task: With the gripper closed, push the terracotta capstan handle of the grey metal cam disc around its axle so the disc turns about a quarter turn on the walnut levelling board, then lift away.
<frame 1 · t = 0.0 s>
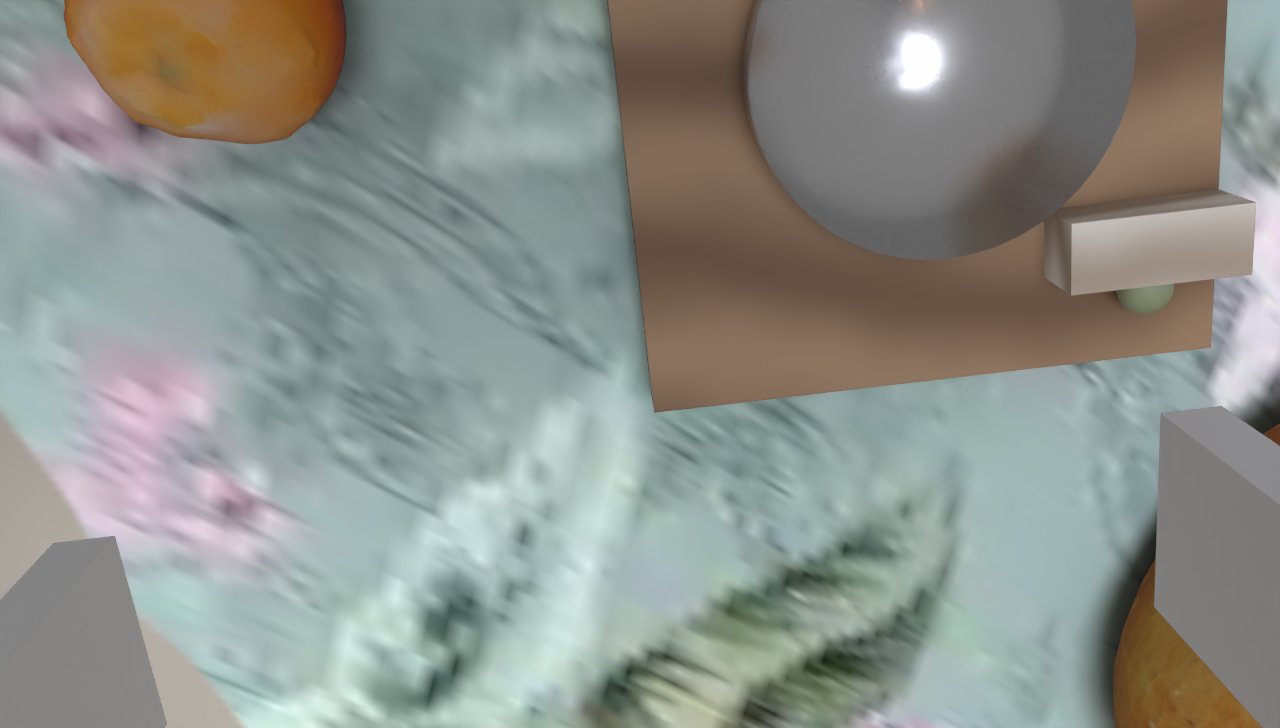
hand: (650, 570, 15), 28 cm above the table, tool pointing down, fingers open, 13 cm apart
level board: (907, 60, 40), on the table
fruit: (246, 11, 39), on the table
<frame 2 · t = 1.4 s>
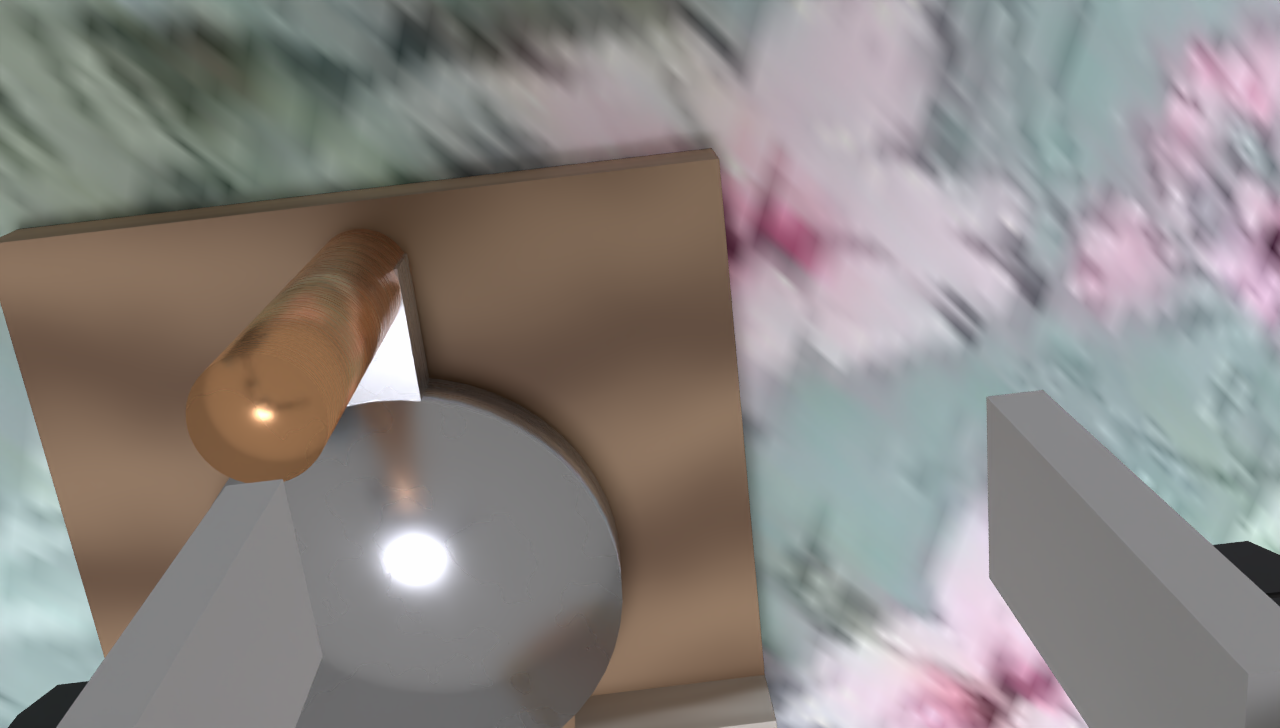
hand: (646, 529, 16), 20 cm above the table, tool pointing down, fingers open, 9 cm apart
cam disc: (374, 596, 29), point 8 cm above the table, hinge at 0.0°
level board: (428, 532, 37), on the table
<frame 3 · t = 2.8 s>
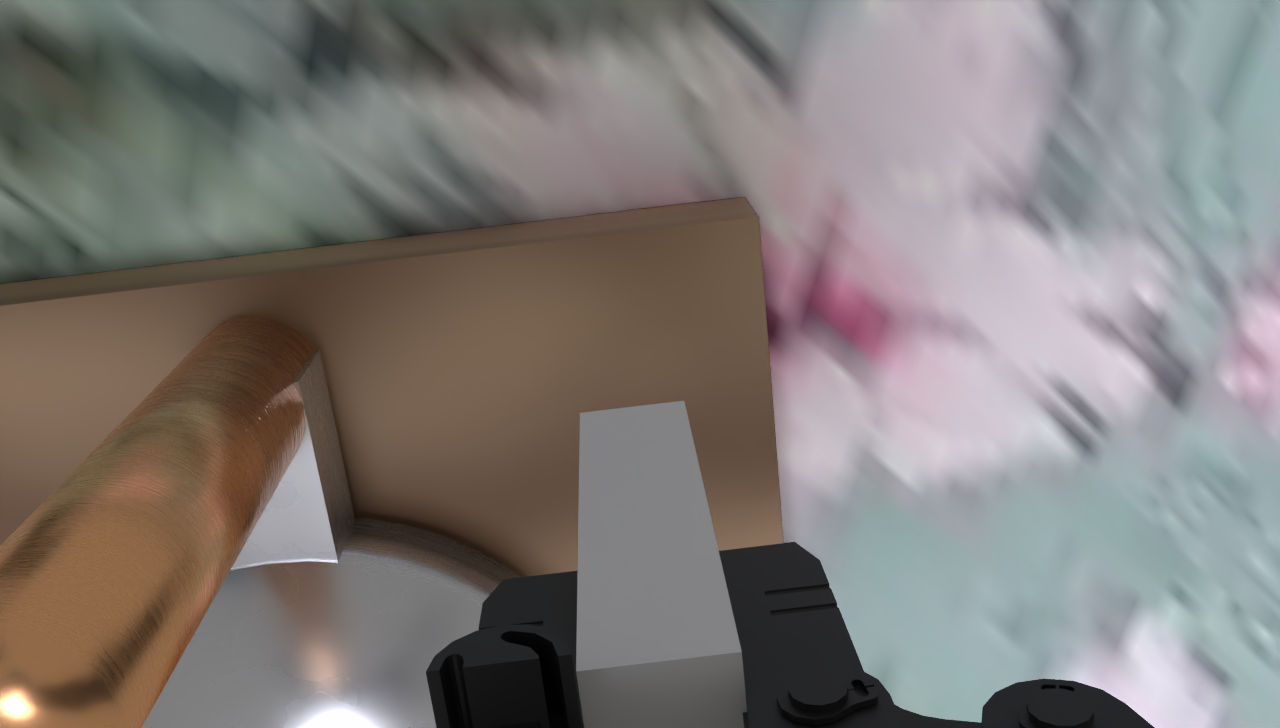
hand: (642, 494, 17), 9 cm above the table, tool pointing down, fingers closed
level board: (364, 700, 28), on the table
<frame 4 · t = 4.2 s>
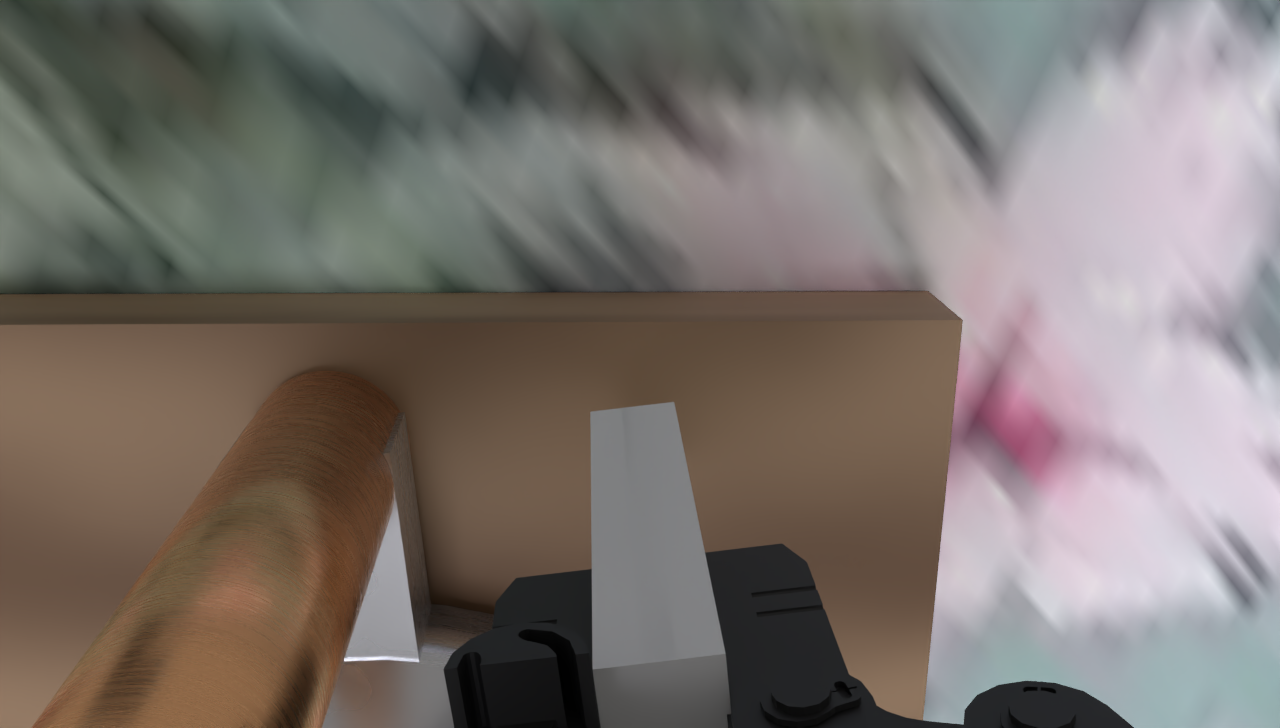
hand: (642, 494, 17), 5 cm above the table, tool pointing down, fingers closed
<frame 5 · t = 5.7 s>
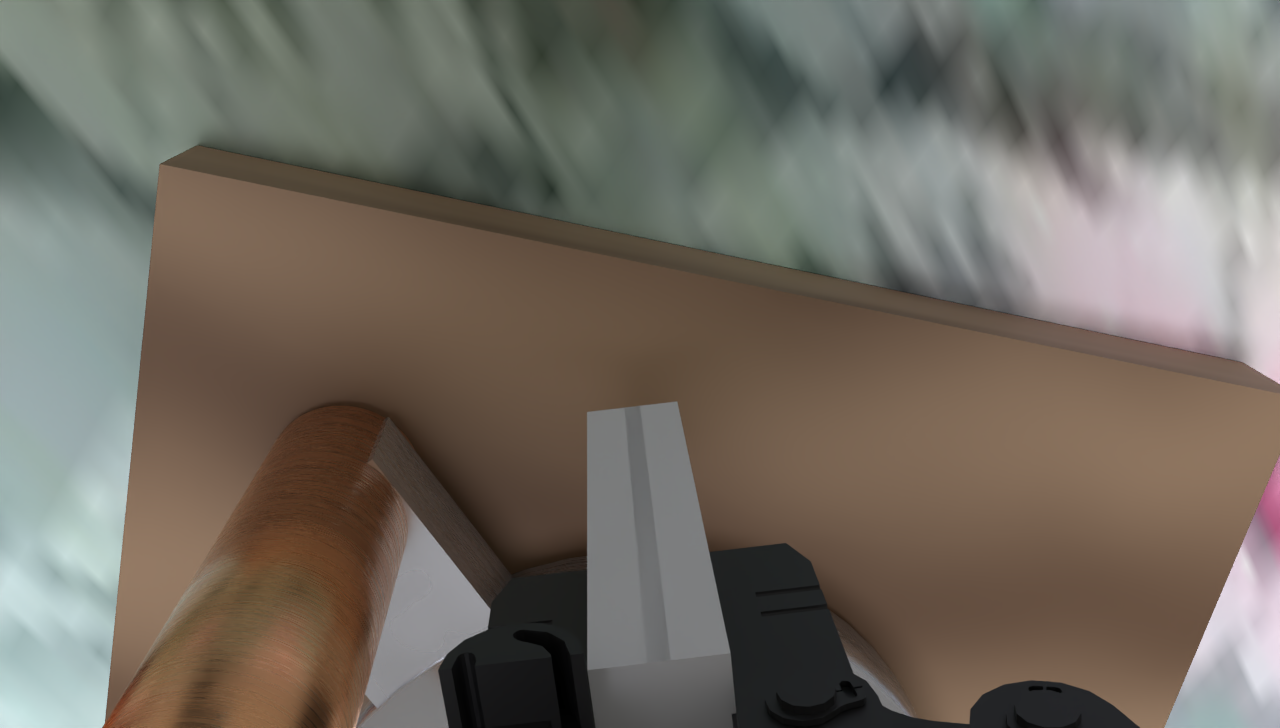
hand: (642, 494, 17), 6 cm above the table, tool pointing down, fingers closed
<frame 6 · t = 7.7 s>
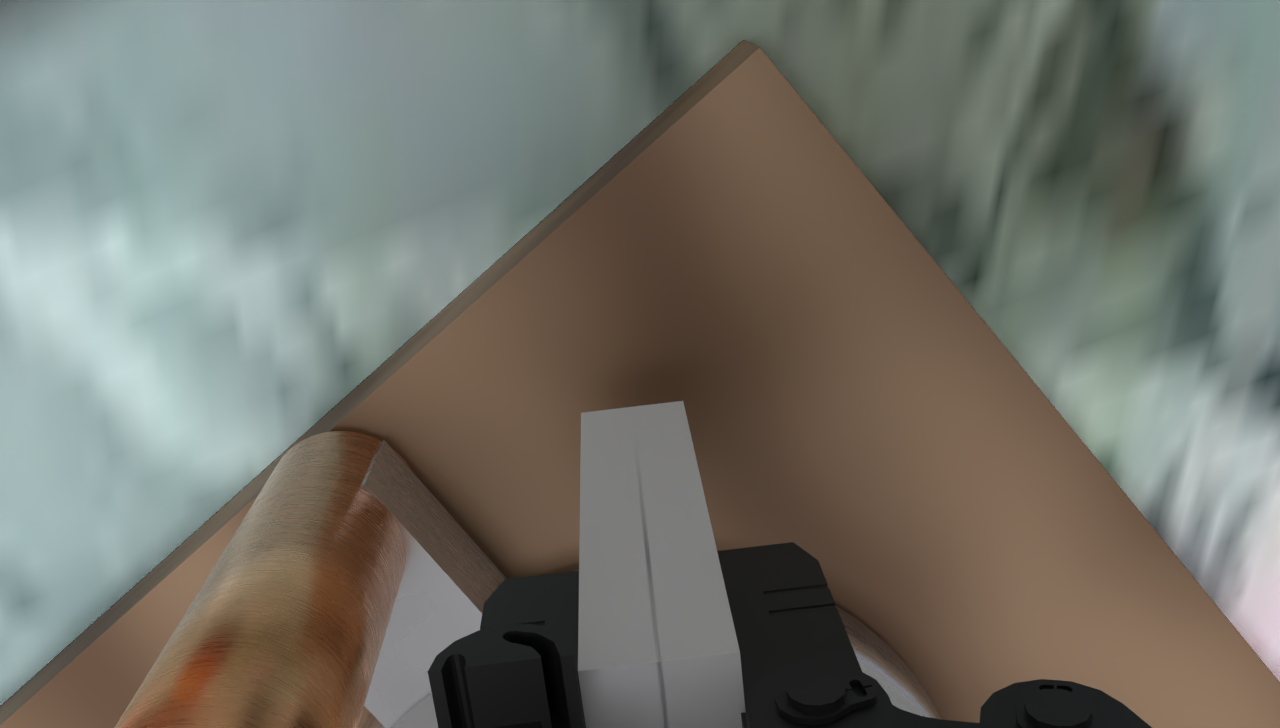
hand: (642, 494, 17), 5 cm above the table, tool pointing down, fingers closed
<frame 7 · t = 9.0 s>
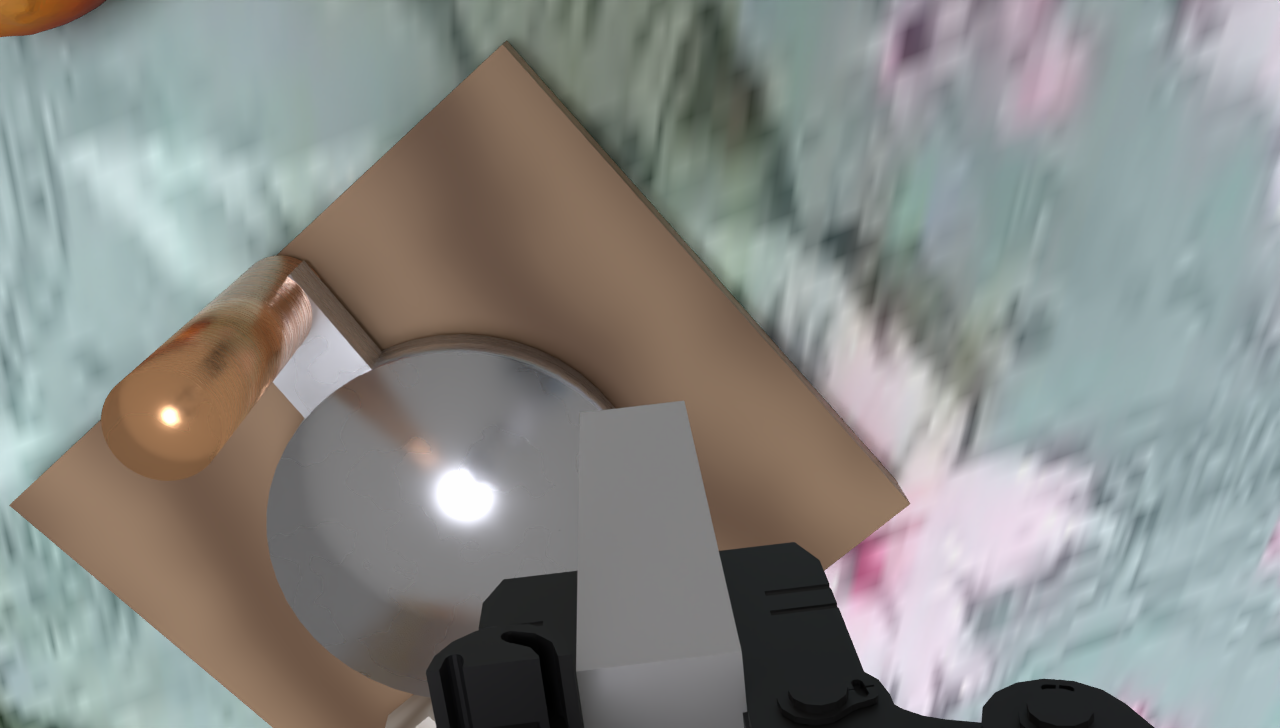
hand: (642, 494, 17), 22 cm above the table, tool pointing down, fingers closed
cam disc: (399, 537, 33), point 8 cm above the table, hinge at 84.9°
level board: (473, 480, 41), on the table
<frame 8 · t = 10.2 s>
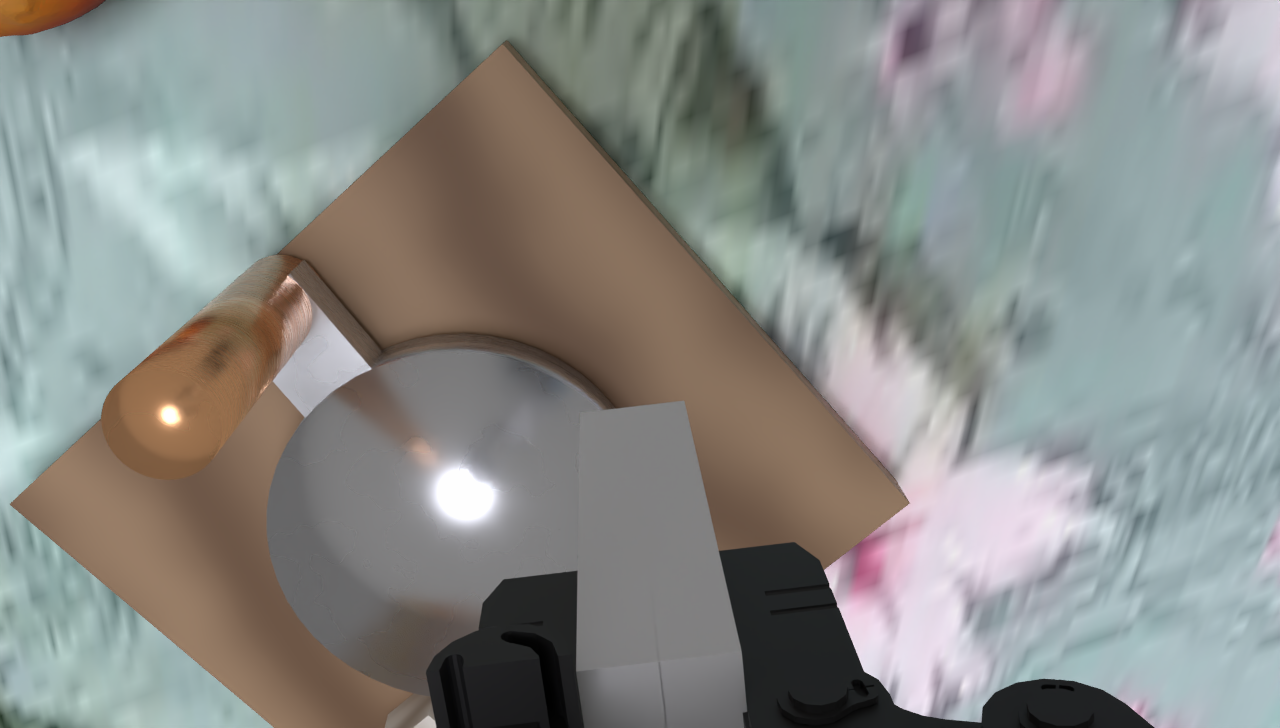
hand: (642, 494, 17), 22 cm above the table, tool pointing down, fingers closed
cam disc: (399, 536, 33), point 8 cm above the table, hinge at 84.9°
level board: (473, 479, 41), on the table
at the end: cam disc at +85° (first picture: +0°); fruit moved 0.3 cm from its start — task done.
